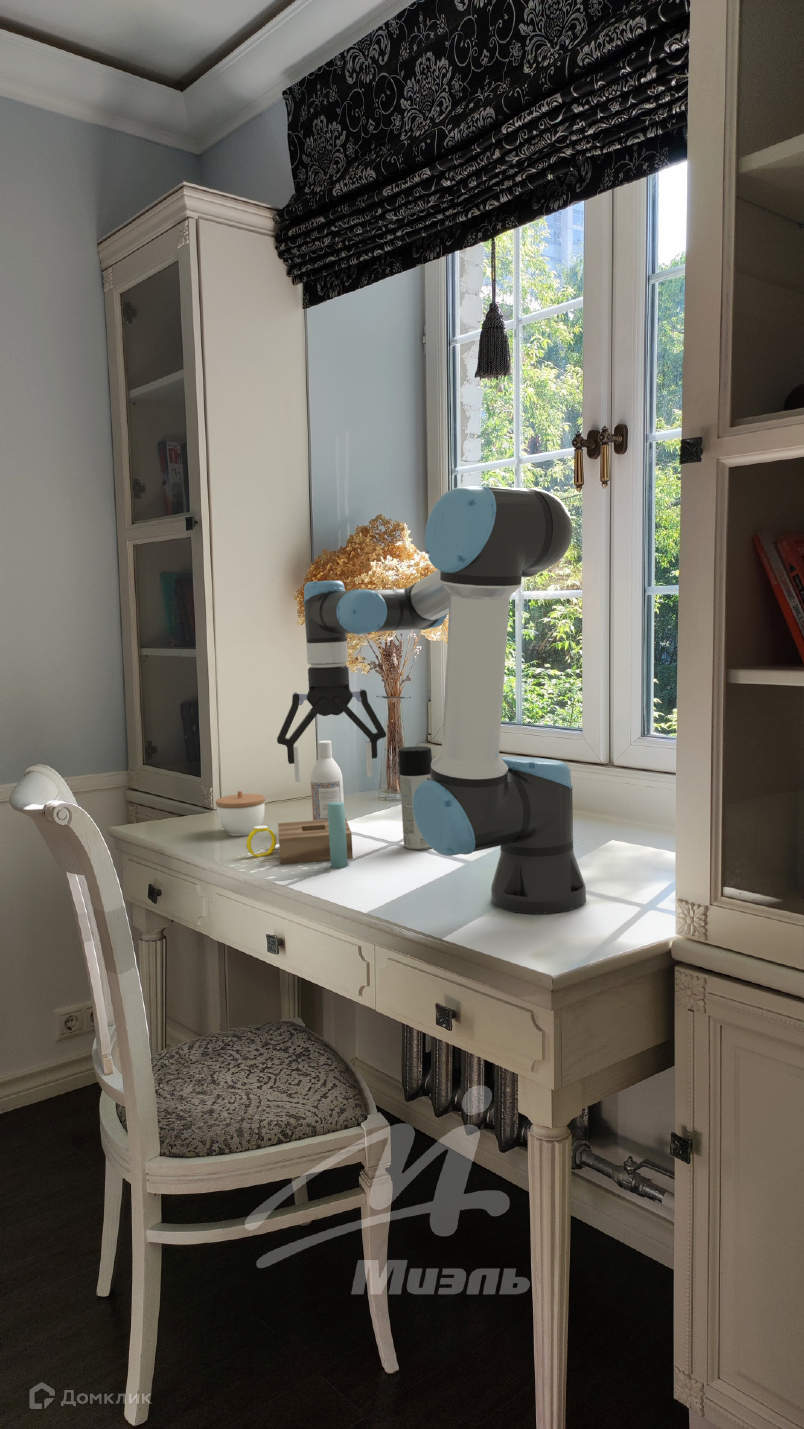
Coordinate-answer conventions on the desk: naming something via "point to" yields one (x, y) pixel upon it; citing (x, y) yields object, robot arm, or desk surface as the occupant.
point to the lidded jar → (240, 813)
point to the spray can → (413, 790)
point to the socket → (307, 841)
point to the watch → (261, 829)
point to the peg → (337, 834)
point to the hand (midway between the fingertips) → (333, 778)
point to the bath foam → (325, 782)
